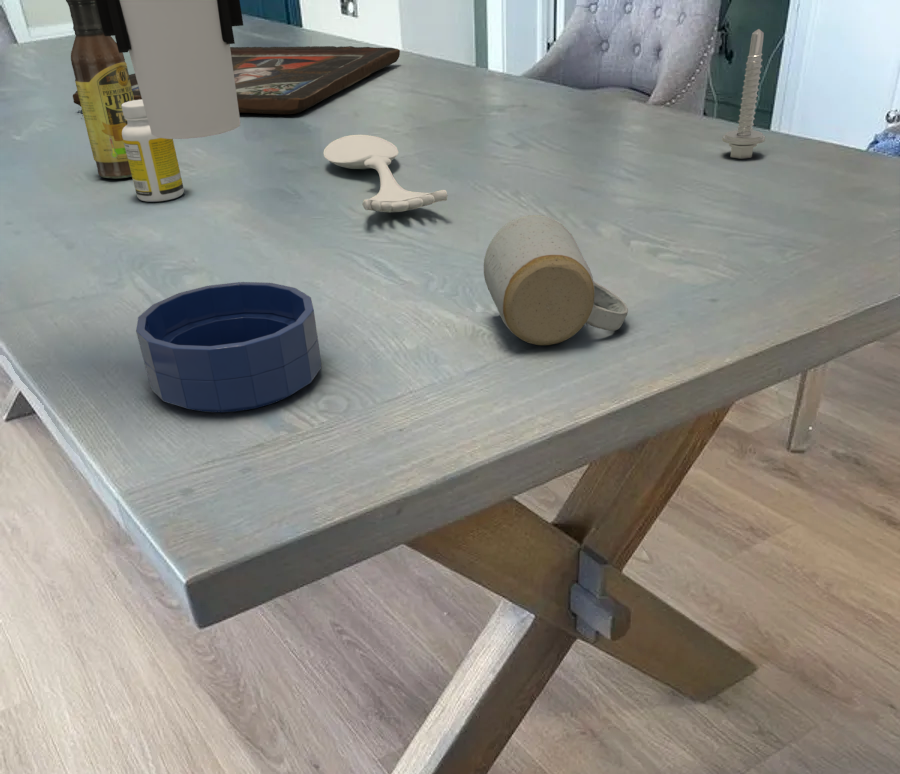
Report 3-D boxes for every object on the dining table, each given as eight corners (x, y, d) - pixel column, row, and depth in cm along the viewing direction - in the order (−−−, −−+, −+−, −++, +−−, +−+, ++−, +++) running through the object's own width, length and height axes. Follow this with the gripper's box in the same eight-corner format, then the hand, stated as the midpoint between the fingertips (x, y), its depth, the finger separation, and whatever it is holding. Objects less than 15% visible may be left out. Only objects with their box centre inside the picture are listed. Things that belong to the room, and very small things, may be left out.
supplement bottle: (188, 188, 111) (168, 96, 105) (180, 201, 107) (160, 105, 100) (142, 191, 111) (120, 99, 105) (133, 204, 106) (109, 109, 100)
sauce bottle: (128, 183, 114) (81, -11, 102) (88, 179, 116) (37, -11, 104) (160, 169, 118) (119, -18, 106) (121, 166, 121) (76, -18, 108)
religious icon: (69, 114, 149) (63, 93, 147) (211, 63, 182) (208, 45, 180) (297, 119, 138) (294, 96, 136) (403, 64, 171) (402, 45, 169)
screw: (718, 160, 109) (722, 150, 113) (761, 162, 108) (763, 151, 112) (734, 32, 101) (737, 25, 105) (780, 32, 100) (782, 25, 104)
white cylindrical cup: (131, 143, 58) (83, -51, 52) (160, 119, 64) (120, -60, 57) (236, 137, 58) (200, -59, 52) (256, 114, 63) (226, -67, 57)
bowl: (118, 394, 68) (99, 327, 64) (236, 334, 75) (224, 272, 72) (241, 433, 62) (227, 363, 59) (355, 364, 70) (347, 298, 67)
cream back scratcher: (365, 234, 94) (362, 198, 92) (319, 160, 118) (316, 130, 116) (452, 223, 95) (451, 188, 93) (389, 152, 120) (387, 122, 118)
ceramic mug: (501, 356, 69) (502, 251, 65) (482, 314, 76) (482, 216, 71) (639, 344, 70) (650, 240, 66) (609, 304, 77) (617, 207, 72)
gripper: (265, -361, 51) (310, 26, 62) (-68, -354, 48) (42, 47, 60) (273, -391, 45) (321, 42, 56) (-105, -384, 43) (25, 66, 54)
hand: (177, 41), depth 58 cm, fingers closed on white cylindrical cup, 5 cm apart
